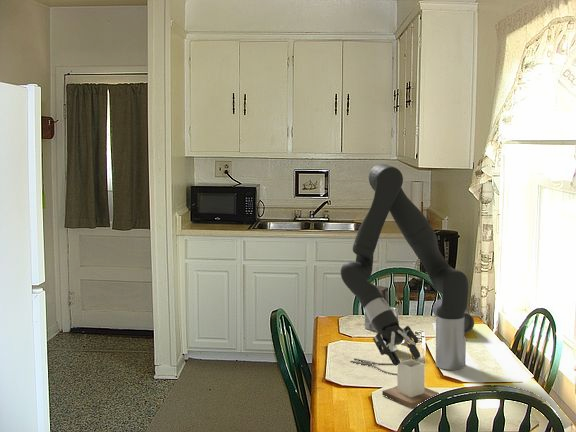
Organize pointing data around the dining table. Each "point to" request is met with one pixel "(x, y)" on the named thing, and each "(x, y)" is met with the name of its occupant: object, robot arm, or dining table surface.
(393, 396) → the post stand
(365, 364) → the pliers
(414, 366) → the sleeve
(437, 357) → the robot arm
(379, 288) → the coffee box
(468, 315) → the bluetooth speaker
